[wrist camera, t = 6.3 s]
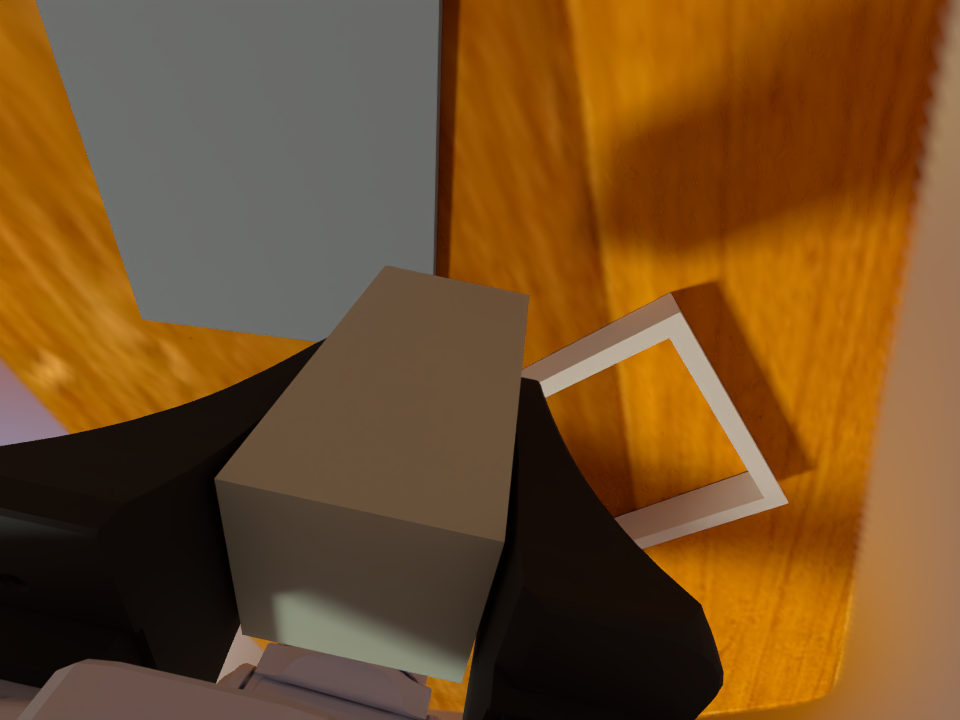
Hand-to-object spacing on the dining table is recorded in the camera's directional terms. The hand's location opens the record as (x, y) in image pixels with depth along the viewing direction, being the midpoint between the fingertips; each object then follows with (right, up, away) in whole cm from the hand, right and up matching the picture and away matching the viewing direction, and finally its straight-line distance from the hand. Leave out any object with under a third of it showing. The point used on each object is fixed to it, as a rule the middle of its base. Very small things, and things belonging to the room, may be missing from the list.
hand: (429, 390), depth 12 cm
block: (0, +1, +2) cm, 2 cm away
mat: (-7, +8, +7) cm, 13 cm away
